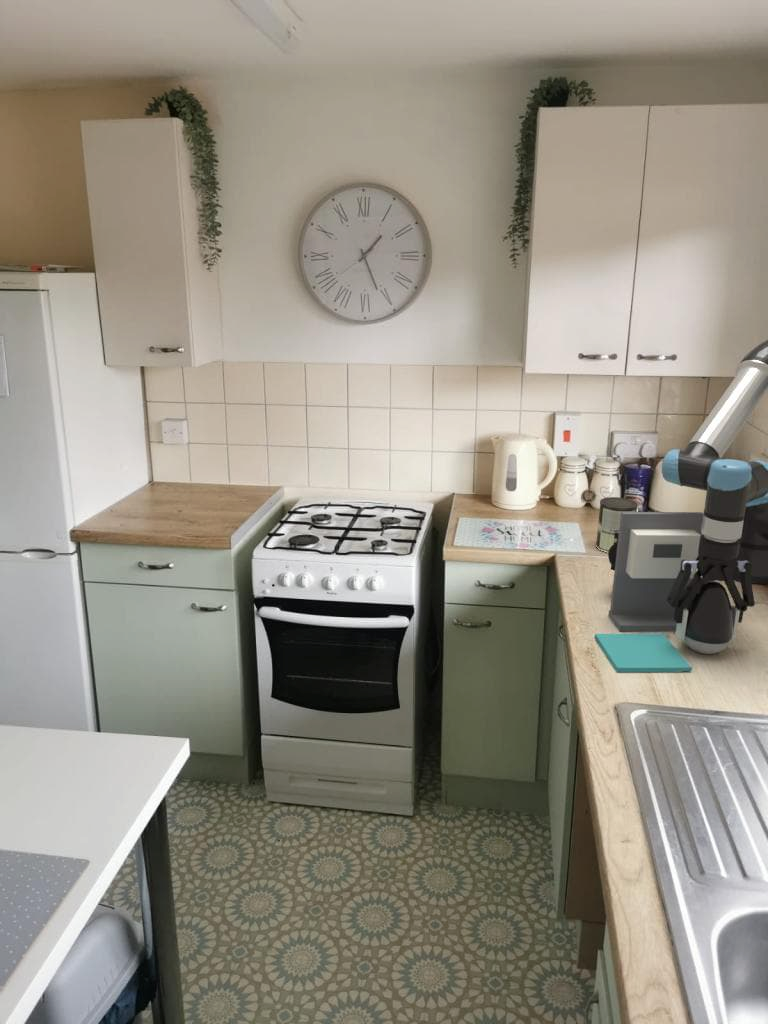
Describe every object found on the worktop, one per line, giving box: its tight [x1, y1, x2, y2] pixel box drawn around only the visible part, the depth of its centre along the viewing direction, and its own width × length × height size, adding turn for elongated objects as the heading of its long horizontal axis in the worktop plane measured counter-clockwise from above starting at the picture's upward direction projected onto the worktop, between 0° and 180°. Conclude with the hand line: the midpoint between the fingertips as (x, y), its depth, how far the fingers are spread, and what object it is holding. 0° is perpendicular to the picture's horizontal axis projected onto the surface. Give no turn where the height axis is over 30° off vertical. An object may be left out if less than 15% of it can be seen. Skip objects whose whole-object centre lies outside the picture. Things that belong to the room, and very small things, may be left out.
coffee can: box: [595, 496, 639, 552], centre depth 218 cm, size 10×10×14 cm
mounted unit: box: [607, 511, 704, 633], centre depth 169 cm, size 18×8×26 cm, turn 92°
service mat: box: [594, 633, 693, 673], centre depth 159 cm, size 15×15×1 cm
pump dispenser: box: [682, 580, 733, 655], centre depth 159 cm, size 10×10×15 cm
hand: (705, 636), depth 161 cm, fingers closed on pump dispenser, 10 cm apart
